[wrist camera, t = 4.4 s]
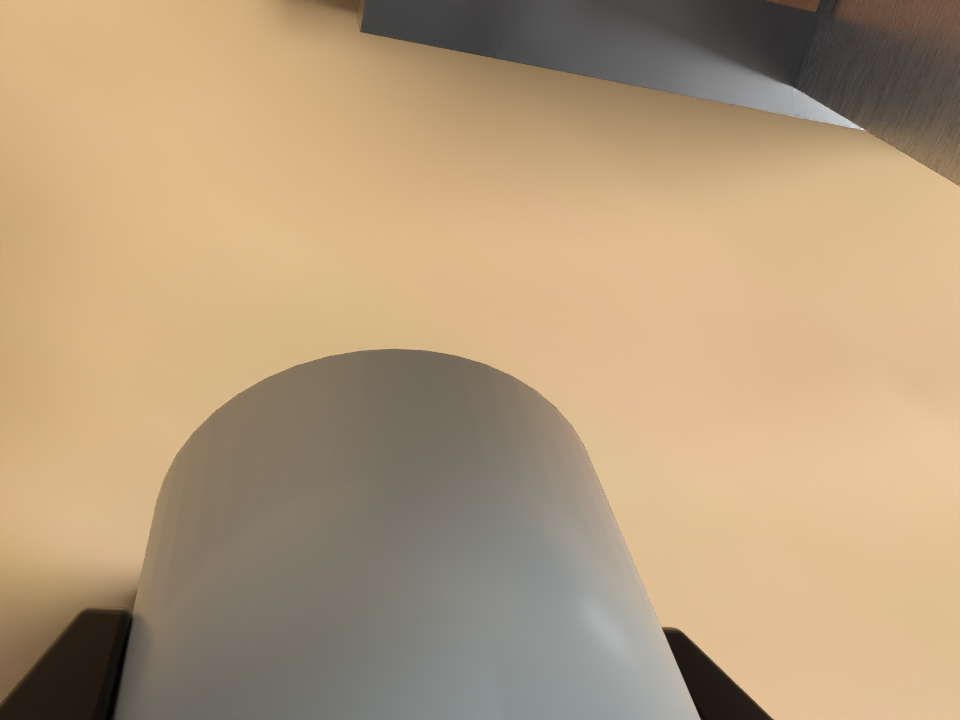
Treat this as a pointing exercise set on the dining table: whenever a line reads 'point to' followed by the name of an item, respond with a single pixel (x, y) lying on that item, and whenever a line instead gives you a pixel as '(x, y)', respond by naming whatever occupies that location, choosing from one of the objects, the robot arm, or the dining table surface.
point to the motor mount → (730, 54)
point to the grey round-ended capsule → (391, 560)
